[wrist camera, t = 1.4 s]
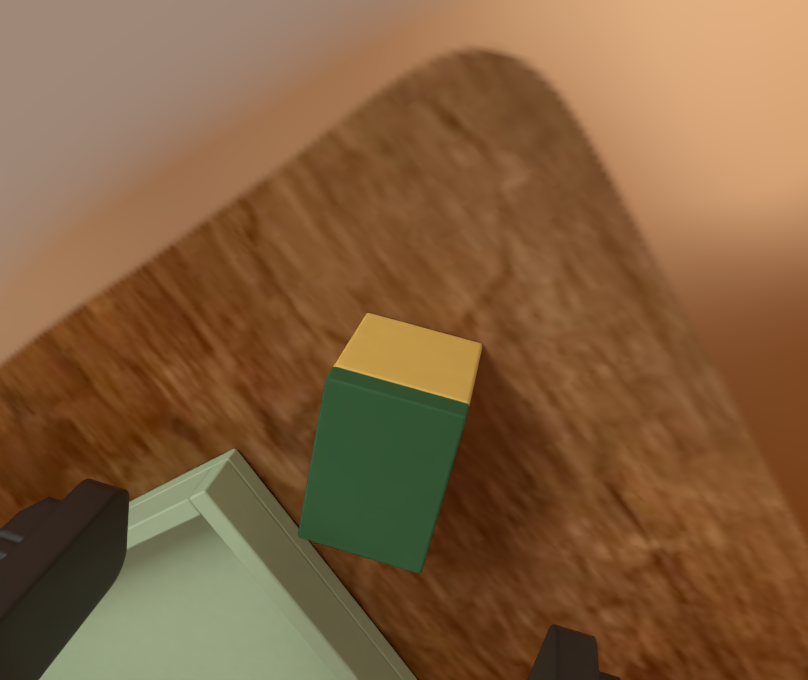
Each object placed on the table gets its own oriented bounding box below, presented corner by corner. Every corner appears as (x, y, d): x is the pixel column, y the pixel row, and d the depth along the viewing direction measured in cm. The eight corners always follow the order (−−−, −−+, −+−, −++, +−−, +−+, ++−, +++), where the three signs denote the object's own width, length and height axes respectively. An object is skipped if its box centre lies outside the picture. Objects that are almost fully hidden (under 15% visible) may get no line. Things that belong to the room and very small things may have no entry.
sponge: (366, 310, 18) (325, 377, 15) (483, 342, 18) (467, 418, 14) (338, 451, 20) (296, 538, 17) (443, 482, 20) (421, 575, 16)
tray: (236, 446, 20) (203, 491, 19) (441, 709, 23) (431, 770, 21) (-53, 593, 26) (-101, 639, 24) (144, 792, 29) (115, 846, 27)
